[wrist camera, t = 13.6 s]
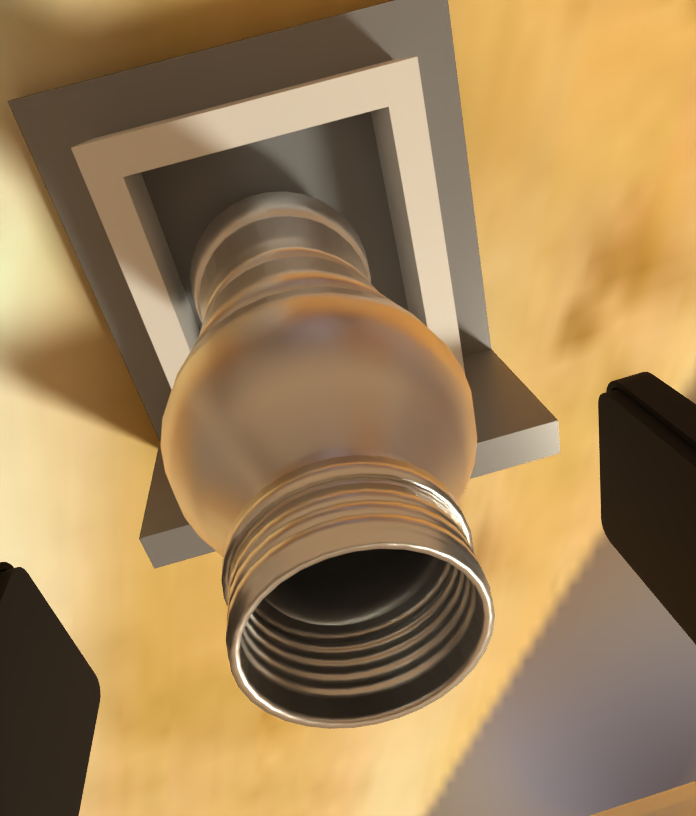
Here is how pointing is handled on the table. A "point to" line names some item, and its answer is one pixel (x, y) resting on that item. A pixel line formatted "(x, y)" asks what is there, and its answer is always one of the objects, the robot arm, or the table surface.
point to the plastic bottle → (325, 472)
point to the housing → (276, 172)
